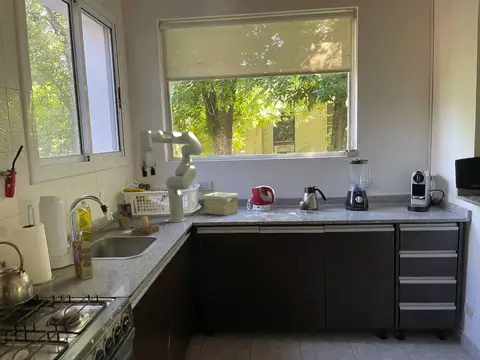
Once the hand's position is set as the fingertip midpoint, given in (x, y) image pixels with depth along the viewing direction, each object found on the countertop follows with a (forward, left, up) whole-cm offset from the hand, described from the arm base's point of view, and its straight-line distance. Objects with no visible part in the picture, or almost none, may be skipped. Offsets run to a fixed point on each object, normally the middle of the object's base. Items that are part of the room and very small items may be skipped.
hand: (149, 176), depth 241 cm
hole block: (+13, +2, -34) cm, 37 cm away
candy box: (+86, +18, -34) cm, 94 cm away
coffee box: (0, -21, -34) cm, 40 cm away
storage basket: (-50, +29, -35) cm, 67 cm away
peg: (+13, +2, -34) cm, 37 cm away
